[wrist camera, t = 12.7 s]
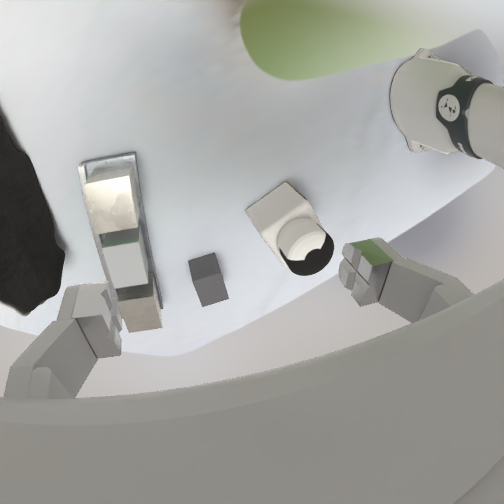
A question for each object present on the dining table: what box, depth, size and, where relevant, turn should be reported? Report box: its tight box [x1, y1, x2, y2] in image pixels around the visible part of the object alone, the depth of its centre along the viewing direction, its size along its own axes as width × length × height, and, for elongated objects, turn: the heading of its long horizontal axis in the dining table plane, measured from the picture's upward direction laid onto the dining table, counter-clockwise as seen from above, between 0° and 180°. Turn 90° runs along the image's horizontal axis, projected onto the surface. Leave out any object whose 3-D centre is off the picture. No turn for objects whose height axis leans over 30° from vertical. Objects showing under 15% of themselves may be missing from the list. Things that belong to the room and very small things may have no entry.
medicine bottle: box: [246, 182, 334, 276], centre depth 38 cm, size 7×7×12 cm
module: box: [102, 222, 148, 289], centre depth 35 cm, size 4×6×5 cm
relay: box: [188, 253, 229, 307], centre depth 43 cm, size 4×5×5 cm
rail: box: [77, 152, 163, 333], centre depth 36 cm, size 7×24×6 cm, turn 0°
